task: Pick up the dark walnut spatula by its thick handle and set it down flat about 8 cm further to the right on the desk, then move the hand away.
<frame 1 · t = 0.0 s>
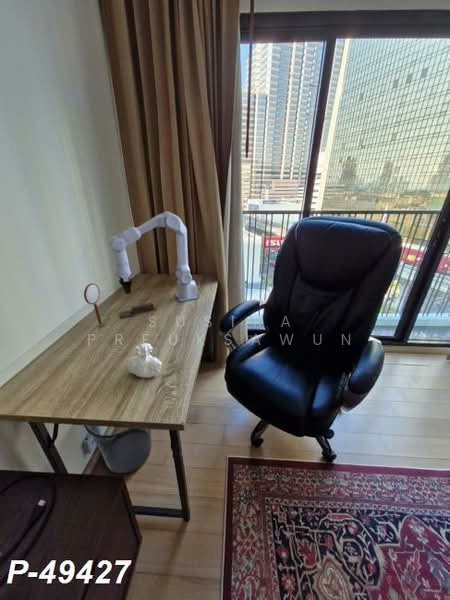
hand: (127, 290, 119), 10 cm above the table, tool pointing down, fingers open, 7 cm apart
spatula: (143, 311, 122), on the table
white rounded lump: (147, 371, 85), on the table
magnifying glass: (101, 326, 111), on the table
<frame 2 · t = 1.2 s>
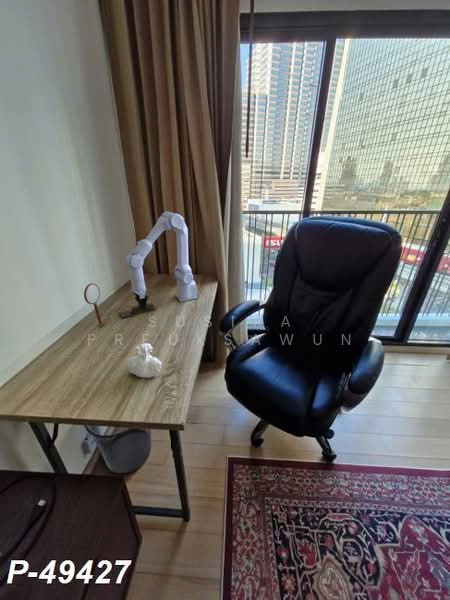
hand: (142, 305, 121), 3 cm above the table, tool pointing down, fingers open, 7 cm apart
nothing on the table moved.
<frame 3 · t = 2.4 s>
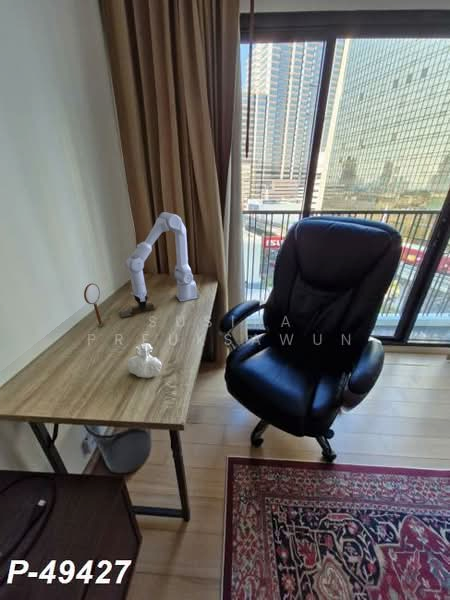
hand: (142, 308, 121), 1 cm above the table, tool pointing down, fingers closed on spatula, 2 cm apart
spatula: (143, 311, 122), on the table, touching gripper
everything else where it was.
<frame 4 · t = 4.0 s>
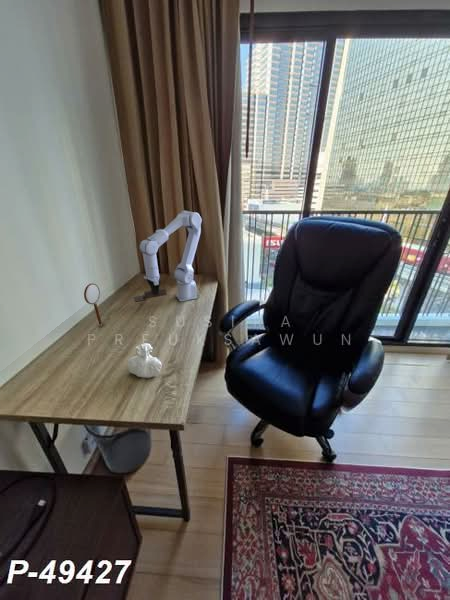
hand: (155, 293, 121), 8 cm above the table, tool pointing down, fingers closed on spatula, 2 cm apart
spatula: (155, 296, 122), point 7 cm above the table, touching gripper
everything else where it was.
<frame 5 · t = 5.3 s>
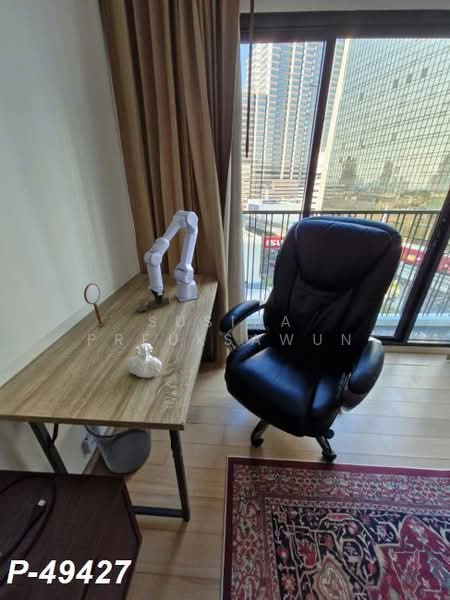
hand: (158, 302, 124), 3 cm above the table, tool pointing down, fingers closed on spatula, 2 cm apart
spatula: (159, 305, 124), point 1 cm above the table, touching gripper
everything else where it was.
when the fingers open (1 cm above the table, at t = 5.9 s): spatula stays where it is, on the table.
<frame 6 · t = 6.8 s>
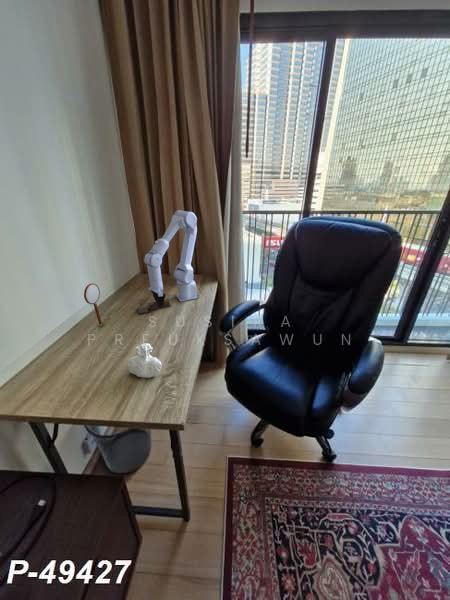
hand: (159, 303, 124), 2 cm above the table, tool pointing down, fingers open, 7 cm apart
spatula: (159, 307, 125), on the table
everything else where it was.
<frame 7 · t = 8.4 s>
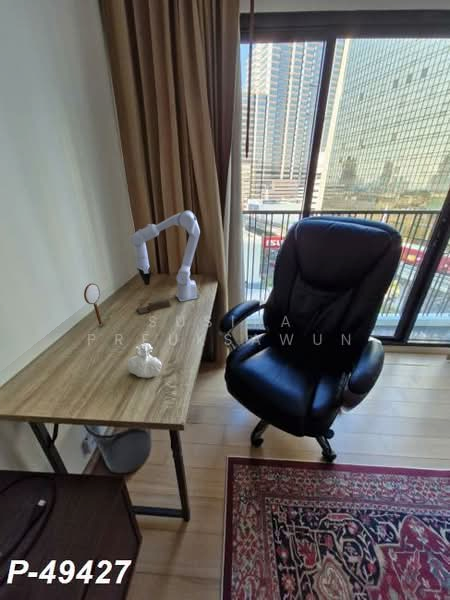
hand: (145, 282, 130), 9 cm above the table, tool pointing down, fingers open, 7 cm apart
nothing on the table moved.
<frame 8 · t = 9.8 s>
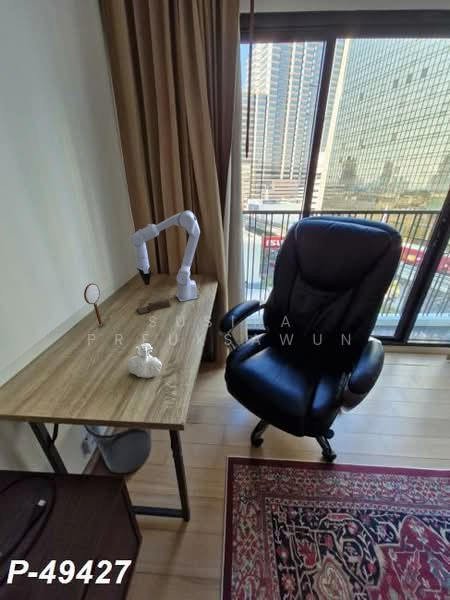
hand: (145, 282, 130), 9 cm above the table, tool pointing down, fingers open, 7 cm apart
nothing on the table moved.
at the end: spatula inside the target area (0.0 cm from its centre), on the table; spatula tilted 0°; the gripper is holding nothing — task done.
